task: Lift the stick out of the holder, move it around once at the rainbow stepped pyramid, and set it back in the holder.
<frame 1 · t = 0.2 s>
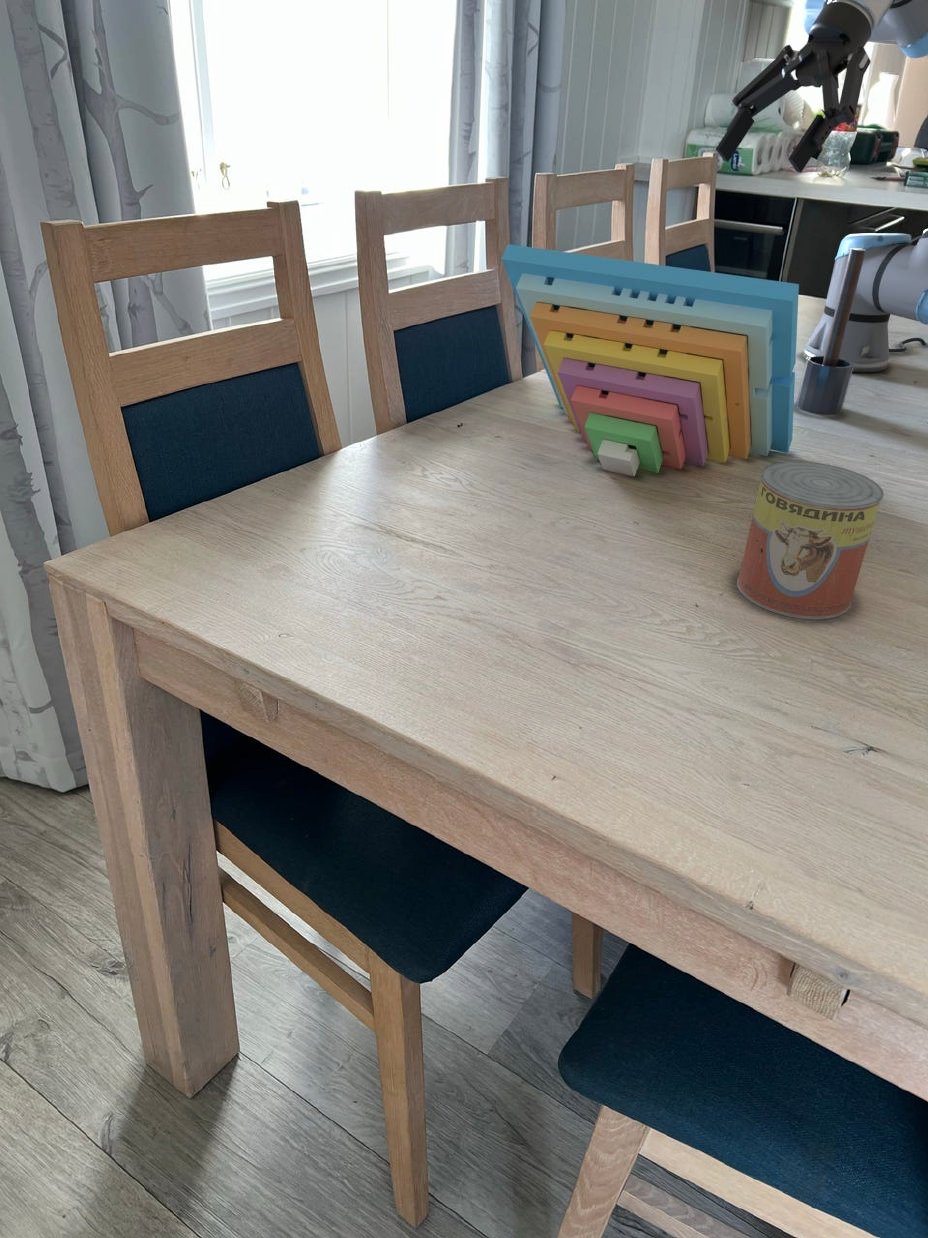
hand: (756, 160, 130), 36 cm above the table, tool tilted 35°, fingers open, 13 cm apart
rainbow stepped pyramid: (643, 452, 131), on the table
stick: (818, 407, 151), point 1 cm above the table, touching holder
canned food: (792, 593, 96), on the table
holder: (818, 411, 151), on the table
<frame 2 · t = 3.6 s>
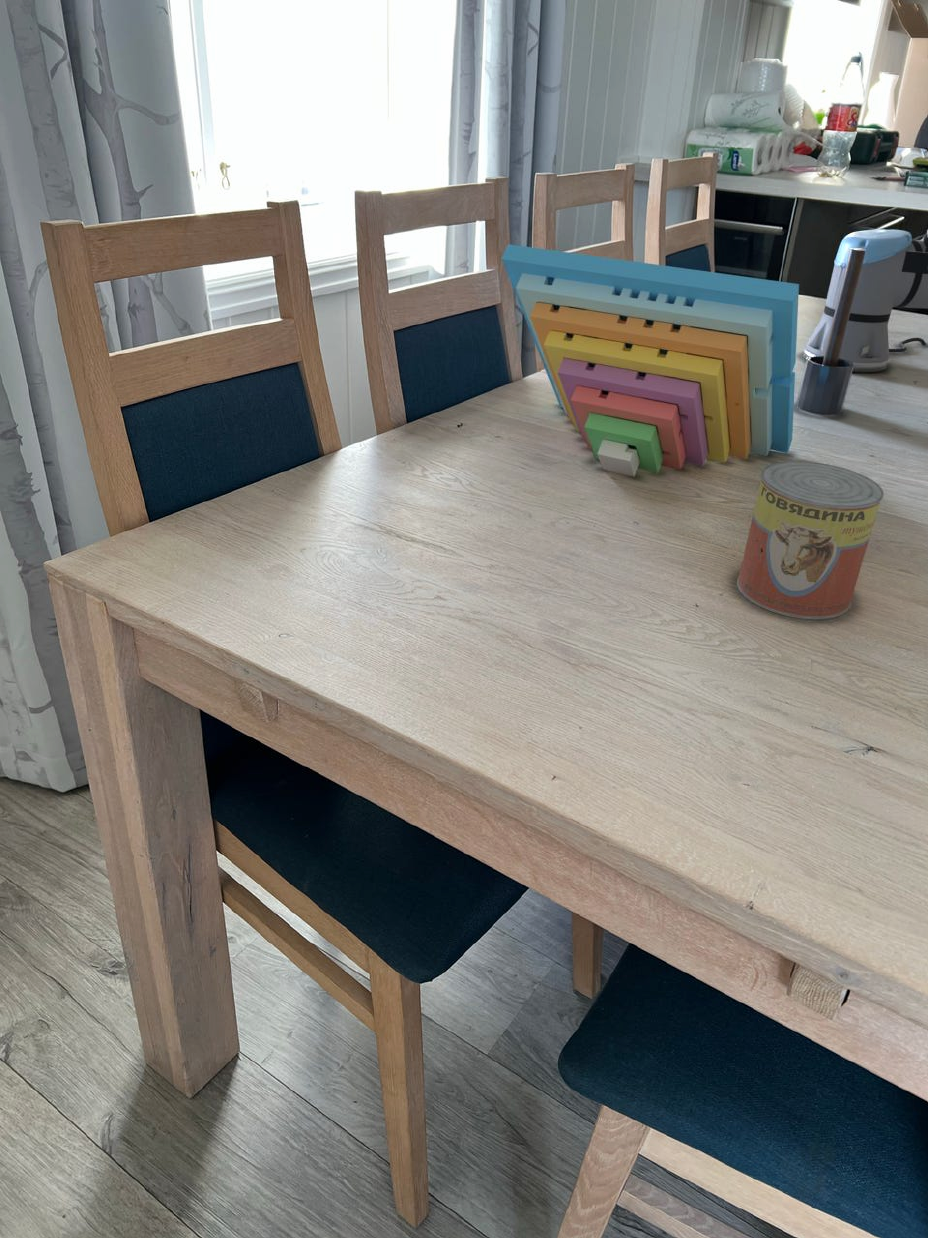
hand: (914, 258, 136), 24 cm above the table, tool horizontal, fingers open, 13 cm apart
nothing on the table moved.
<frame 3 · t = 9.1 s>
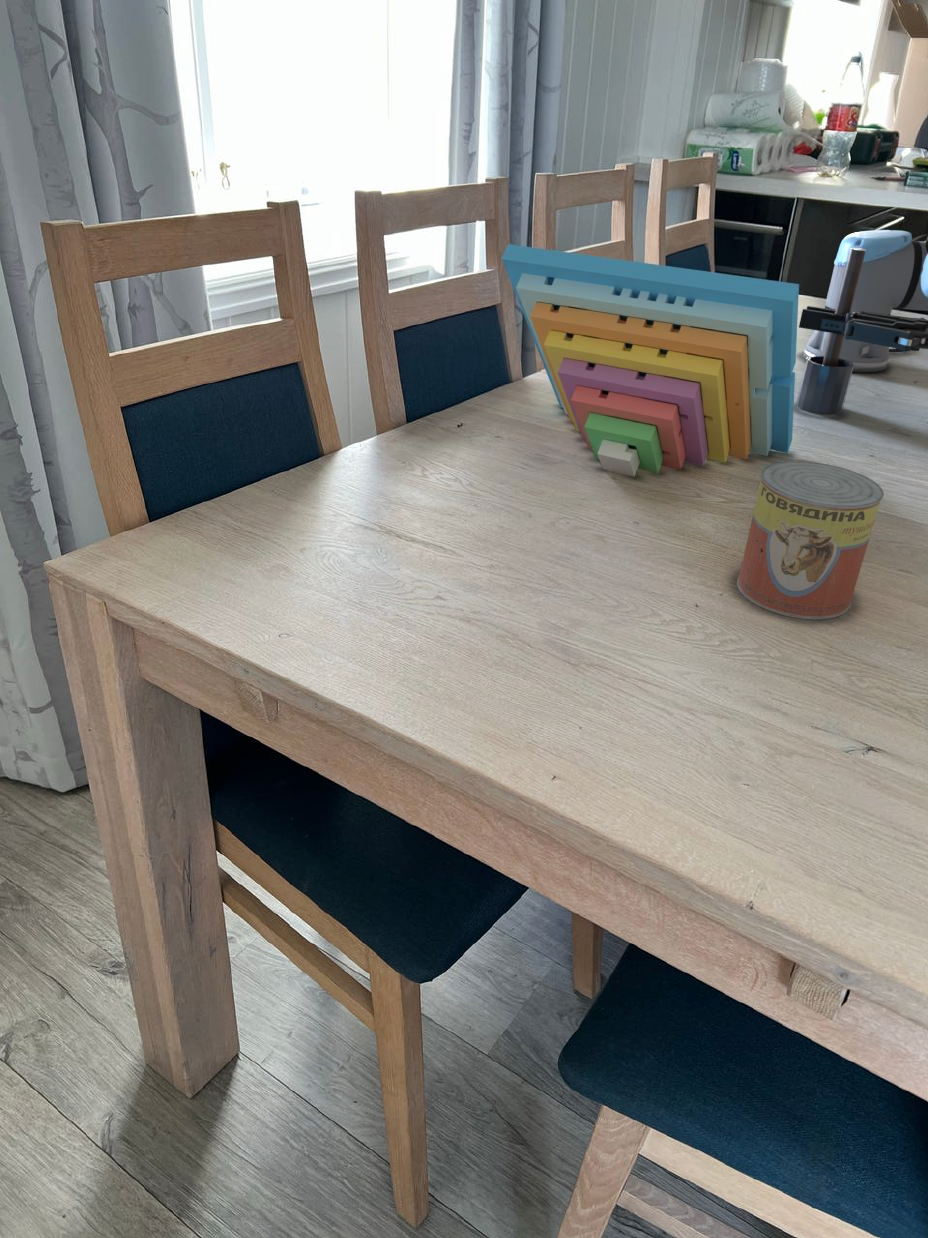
hand: (803, 316, 147), 14 cm above the table, tool horizontal, fingers closed on stick, 2 cm apart
stick: (818, 407, 151), point 1 cm above the table, touching gripper, holder
everything else where it was.
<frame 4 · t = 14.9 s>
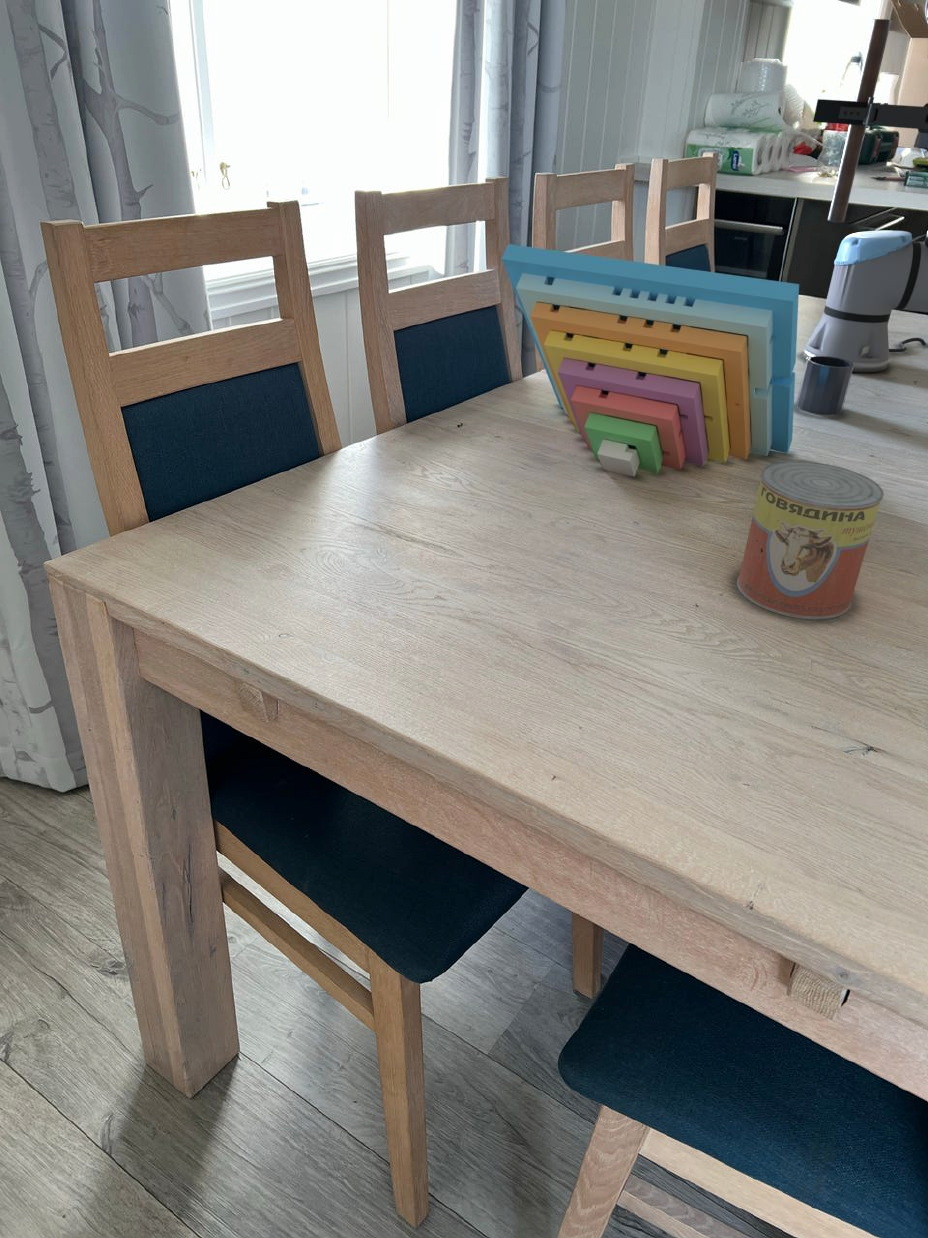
hand: (818, 110, 128), 42 cm above the table, tool horizontal, fingers closed on stick, 2 cm apart
stick: (835, 220, 133), point 29 cm above the table, touching gripper
everything else where it was.
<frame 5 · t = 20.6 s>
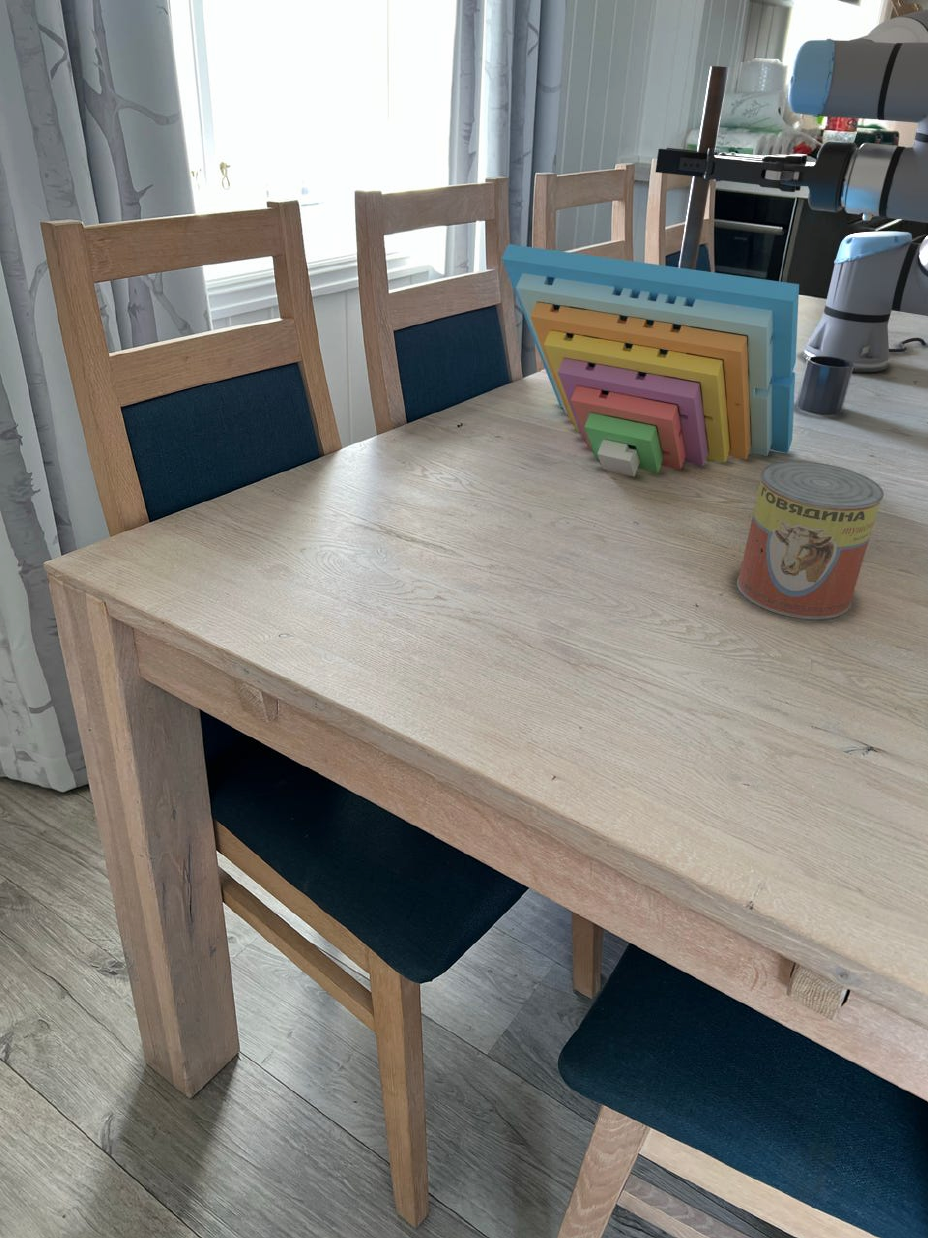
hand: (662, 159, 121), 36 cm above the table, tool horizontal, fingers closed on stick, 2 cm apart
stick: (685, 275, 125), point 22 cm above the table, touching gripper
everything else where it was.
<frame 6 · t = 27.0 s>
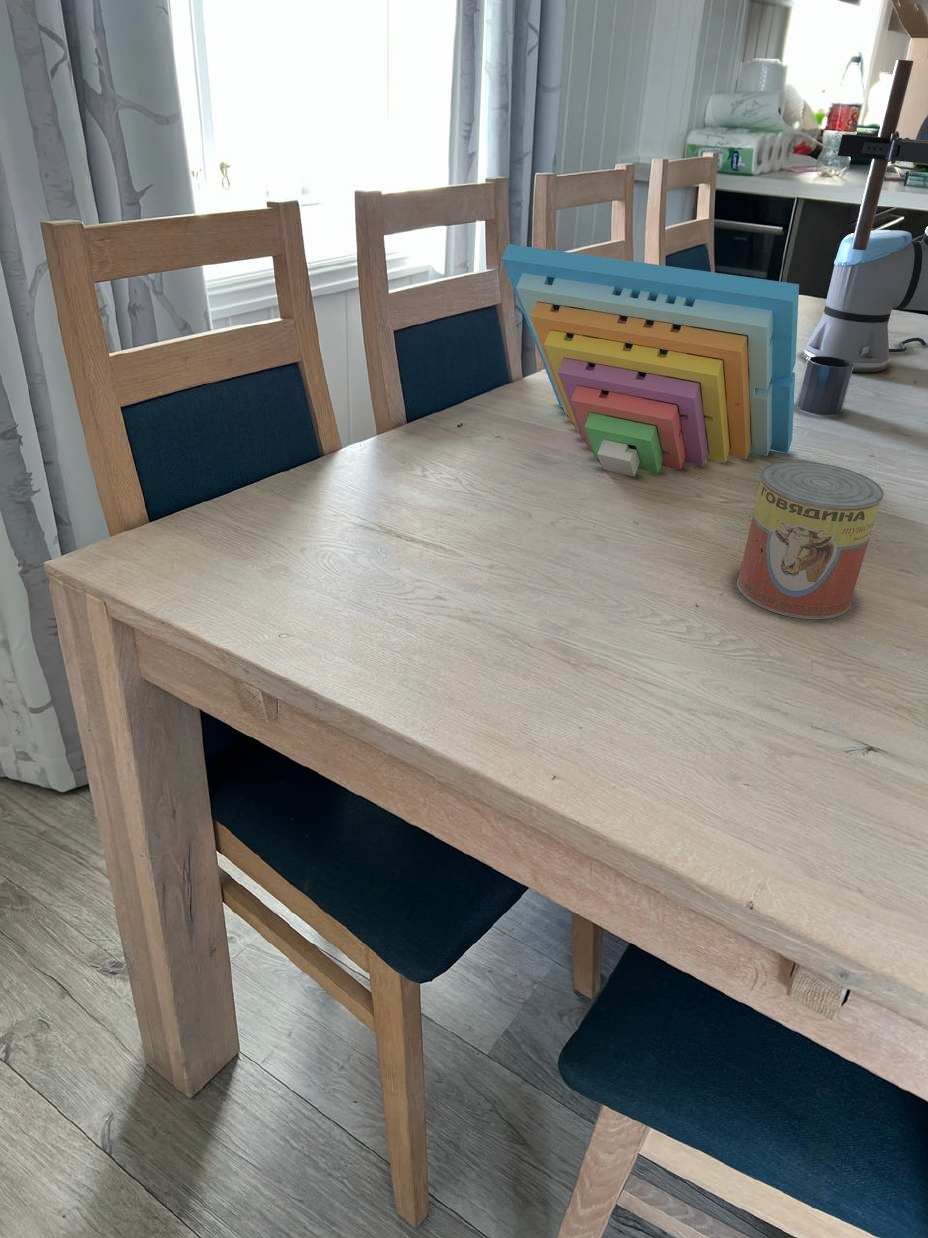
hand: (842, 144, 134), 38 cm above the table, tool horizontal, fingers closed on stick, 2 cm apart
stick: (858, 248, 139), point 25 cm above the table, touching gripper
everything else where it was.
when the fingers open (14 cm above the table, at t = 32.3 s): stick stays where it is, resting on holder.
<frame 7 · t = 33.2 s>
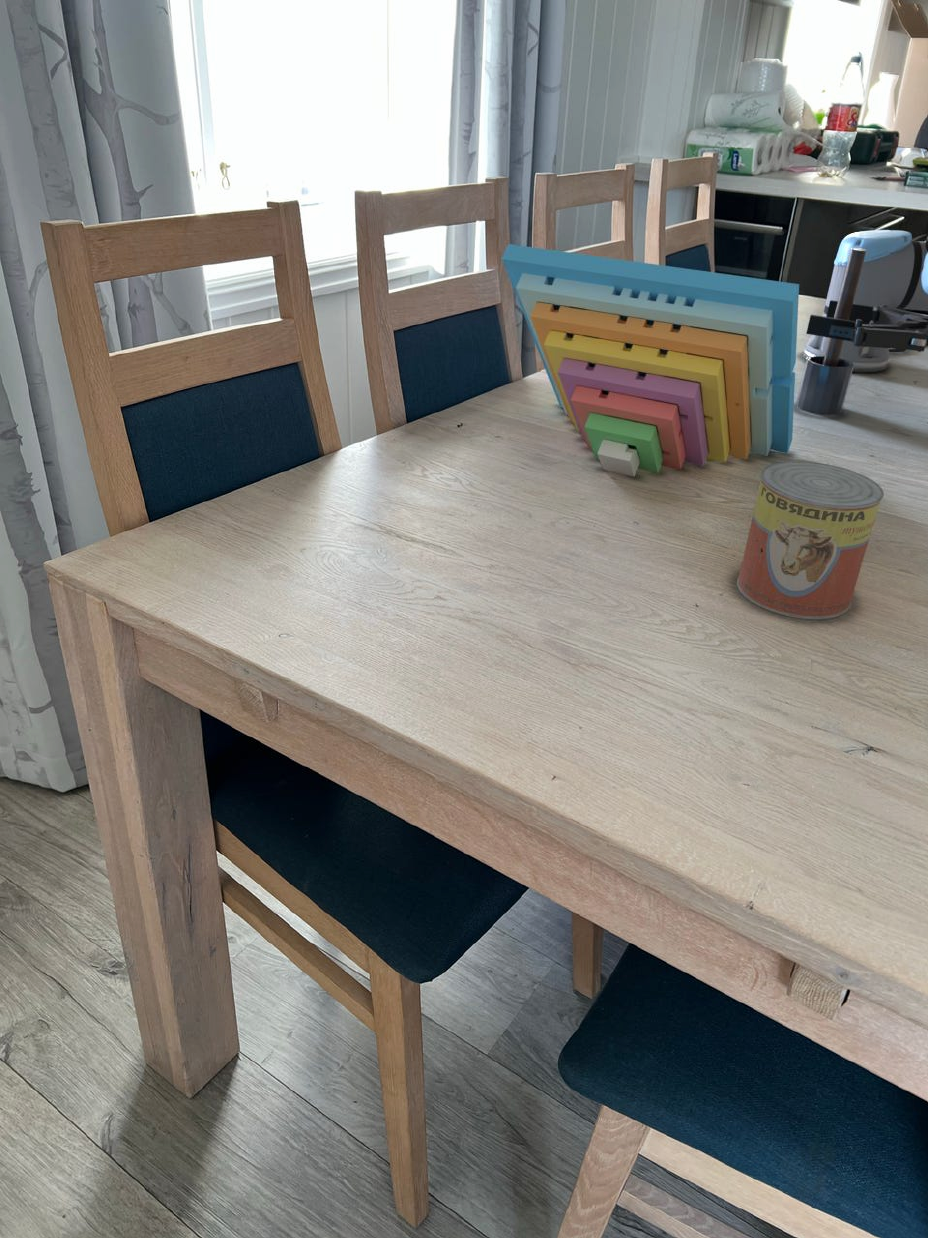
hand: (818, 316, 145), 14 cm above the table, tool horizontal, fingers open, 13 cm apart
stick: (819, 407, 151), point 1 cm above the table, touching holder
everything else where it was.
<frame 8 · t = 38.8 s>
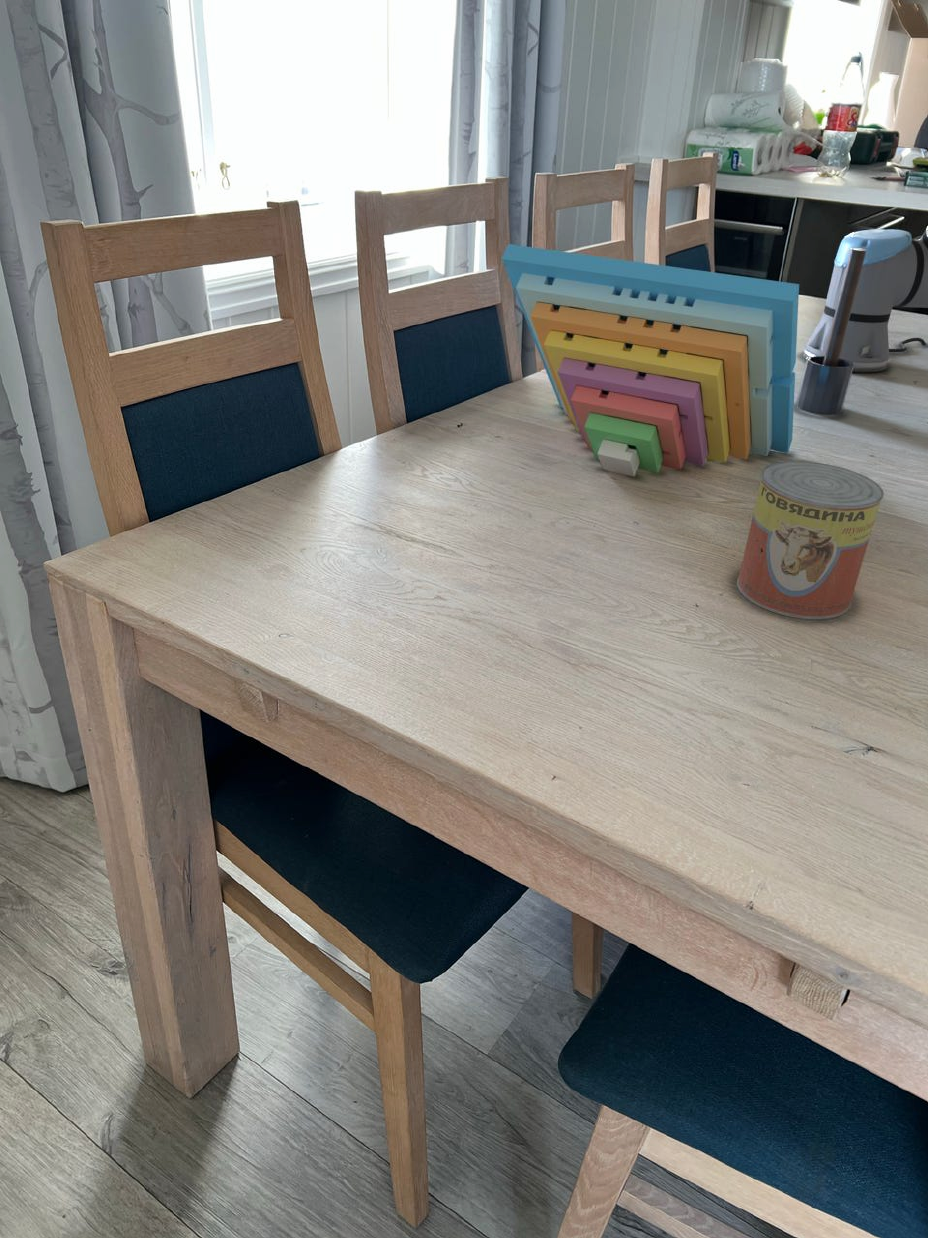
nothing on the table moved.
at the end: stick 0.1 cm off-centre in the holder, point 0.6 cm above the holder's base; stick tilted 0°; rainbow stepped pyramid moved 0.2 cm from its start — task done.
